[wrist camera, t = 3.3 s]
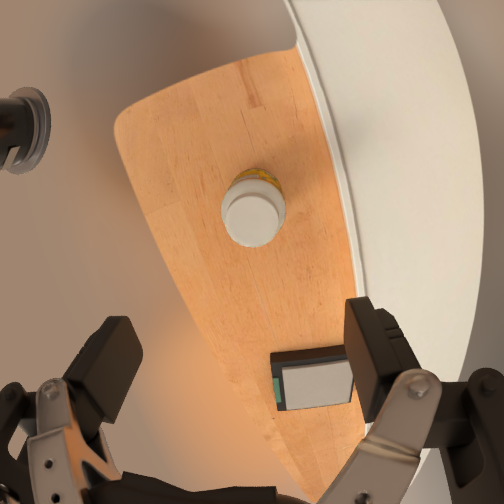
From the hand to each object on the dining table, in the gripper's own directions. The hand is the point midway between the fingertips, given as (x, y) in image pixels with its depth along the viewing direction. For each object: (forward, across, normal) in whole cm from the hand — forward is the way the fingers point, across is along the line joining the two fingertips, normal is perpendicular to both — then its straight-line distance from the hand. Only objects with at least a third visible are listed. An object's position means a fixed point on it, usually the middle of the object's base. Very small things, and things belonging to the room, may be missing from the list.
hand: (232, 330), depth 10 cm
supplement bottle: (+22, 0, 0) cm, 22 cm away
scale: (+22, -5, +28) cm, 36 cm away
